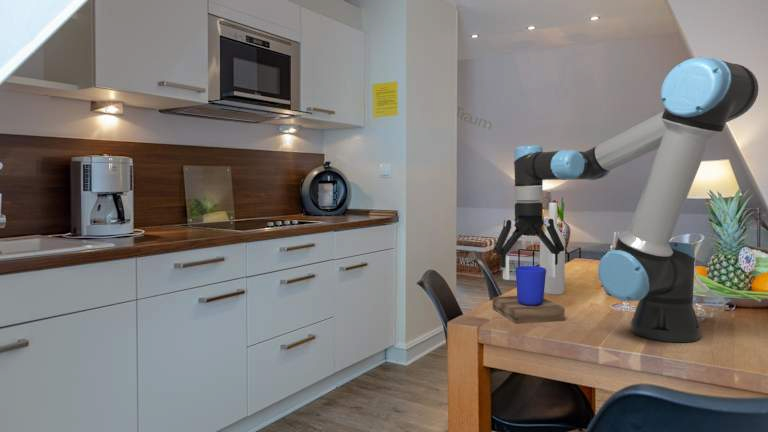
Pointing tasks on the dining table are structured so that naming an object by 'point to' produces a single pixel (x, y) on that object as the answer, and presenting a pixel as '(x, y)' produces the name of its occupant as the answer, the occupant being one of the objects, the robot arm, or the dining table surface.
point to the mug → (530, 285)
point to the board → (527, 310)
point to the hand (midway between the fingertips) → (528, 277)
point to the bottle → (557, 283)
